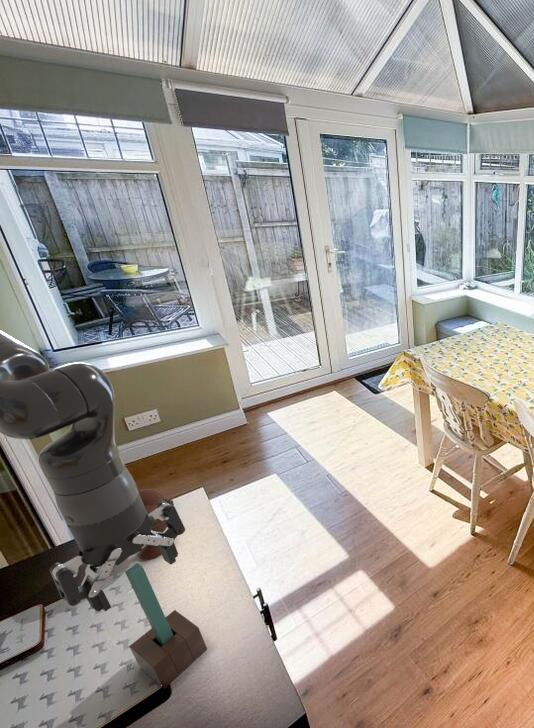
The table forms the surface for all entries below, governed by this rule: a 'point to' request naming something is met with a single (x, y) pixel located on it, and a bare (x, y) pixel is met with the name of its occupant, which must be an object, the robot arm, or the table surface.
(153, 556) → the ice cream bowl
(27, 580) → the table surface
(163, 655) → the holder
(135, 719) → the table surface
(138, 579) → the stick
